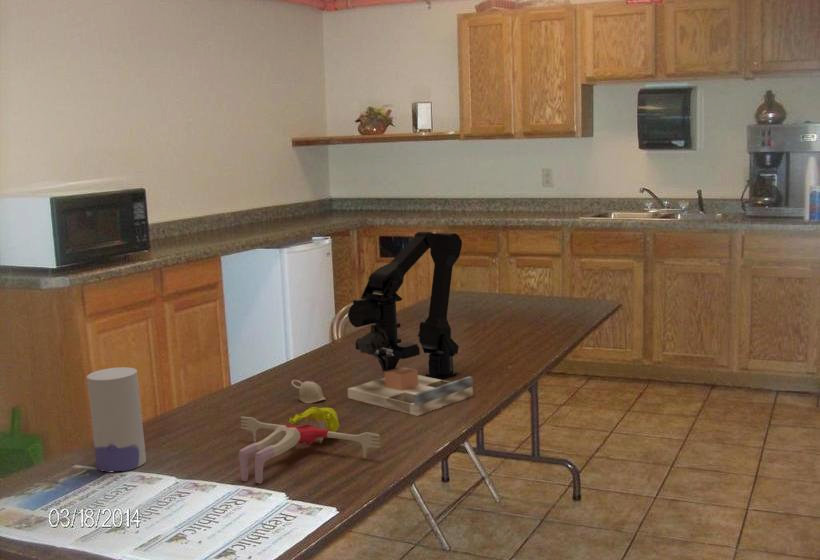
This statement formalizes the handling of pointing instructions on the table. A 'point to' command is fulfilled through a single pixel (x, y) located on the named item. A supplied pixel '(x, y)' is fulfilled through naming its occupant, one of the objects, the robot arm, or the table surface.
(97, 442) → the container
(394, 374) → the terracotta block
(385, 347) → the robot arm
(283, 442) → the toy
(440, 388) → the tray
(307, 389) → the beige domed piece
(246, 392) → the table surface
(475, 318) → the table surface
